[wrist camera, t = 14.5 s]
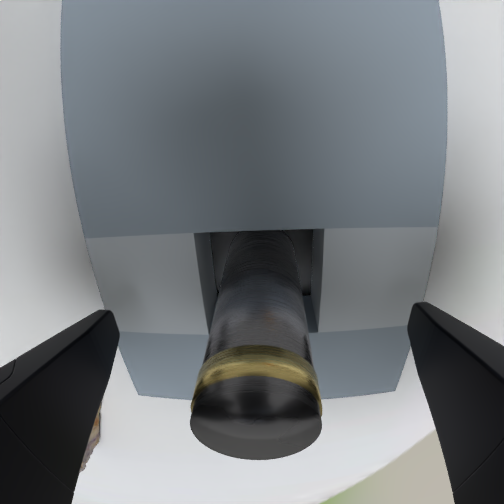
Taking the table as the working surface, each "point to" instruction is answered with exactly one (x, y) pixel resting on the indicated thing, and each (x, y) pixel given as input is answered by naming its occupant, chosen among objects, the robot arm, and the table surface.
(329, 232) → the plate
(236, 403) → the pin
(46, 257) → the table surface
